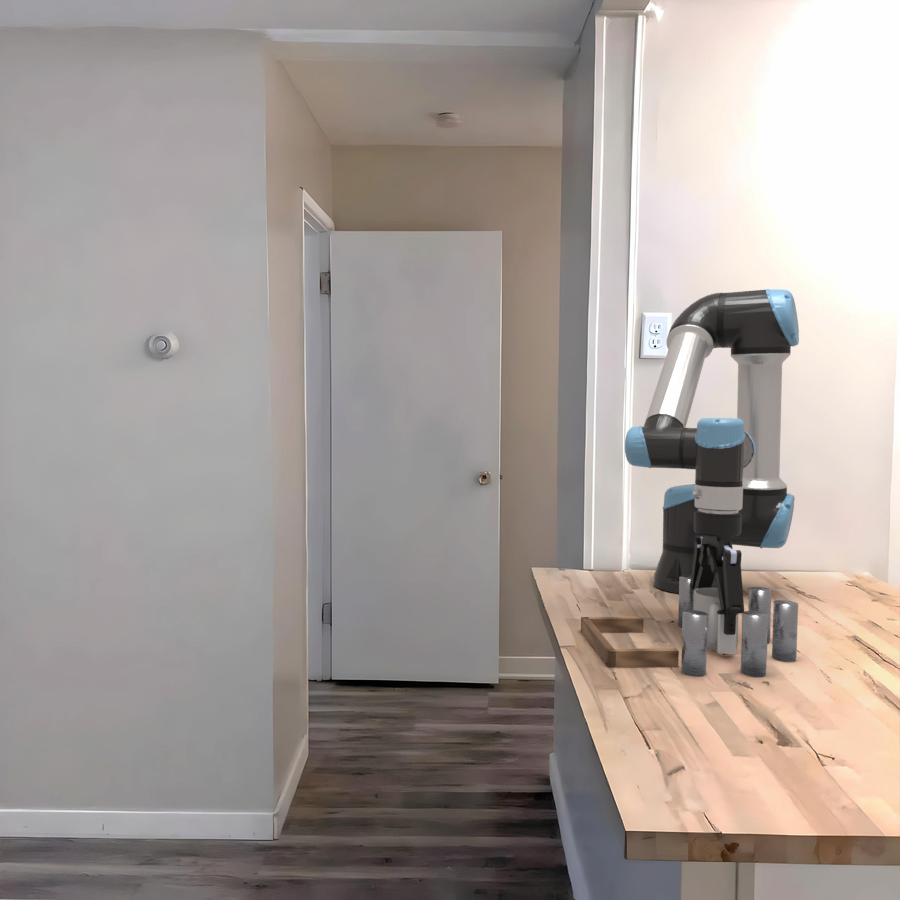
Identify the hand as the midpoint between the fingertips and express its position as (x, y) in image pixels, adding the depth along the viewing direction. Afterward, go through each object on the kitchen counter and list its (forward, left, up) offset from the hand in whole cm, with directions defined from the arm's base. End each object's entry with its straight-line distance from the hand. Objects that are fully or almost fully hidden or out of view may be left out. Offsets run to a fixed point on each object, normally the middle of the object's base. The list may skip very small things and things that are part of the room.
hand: (713, 643), depth 127 cm
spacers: (0, 0, -1) cm, 1 cm away
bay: (+15, 0, -1) cm, 15 cm away
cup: (0, 0, -1) cm, 1 cm away
